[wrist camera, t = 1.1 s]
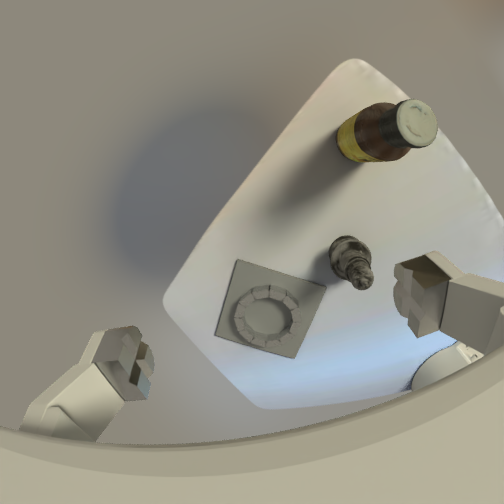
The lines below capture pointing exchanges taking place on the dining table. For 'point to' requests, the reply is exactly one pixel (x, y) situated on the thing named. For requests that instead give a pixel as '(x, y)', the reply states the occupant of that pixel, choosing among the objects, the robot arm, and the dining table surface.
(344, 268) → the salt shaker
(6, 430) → the robot arm
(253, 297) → the ring
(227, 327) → the board
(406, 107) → the sauce bottle
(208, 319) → the dining table surface
